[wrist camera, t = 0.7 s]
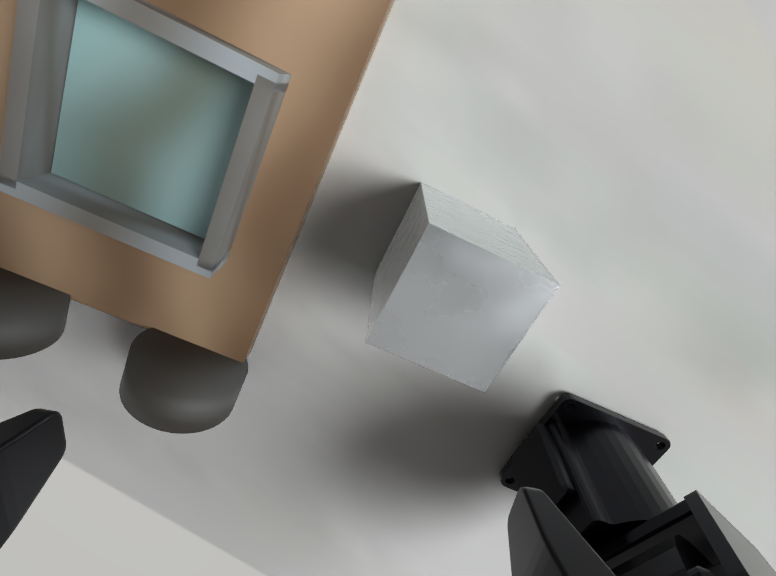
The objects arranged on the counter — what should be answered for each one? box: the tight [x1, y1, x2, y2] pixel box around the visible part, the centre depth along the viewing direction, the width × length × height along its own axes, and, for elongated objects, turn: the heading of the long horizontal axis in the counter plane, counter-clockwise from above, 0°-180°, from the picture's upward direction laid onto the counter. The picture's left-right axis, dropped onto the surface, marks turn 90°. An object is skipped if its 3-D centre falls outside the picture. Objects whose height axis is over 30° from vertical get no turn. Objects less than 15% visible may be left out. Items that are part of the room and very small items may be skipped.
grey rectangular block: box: [366, 183, 560, 393], centre depth 17 cm, size 4×4×6 cm
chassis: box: [0, 0, 394, 433], centre depth 15 cm, size 13×25×5 cm, turn 155°
